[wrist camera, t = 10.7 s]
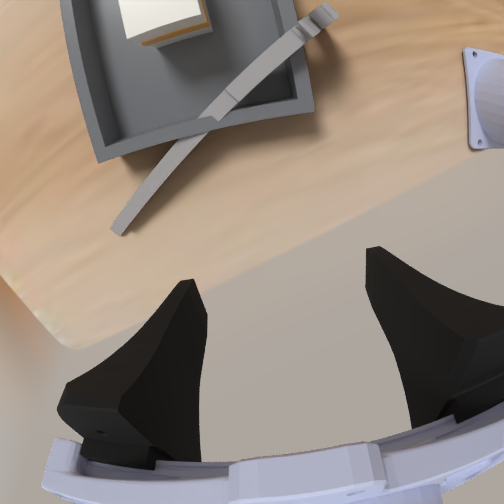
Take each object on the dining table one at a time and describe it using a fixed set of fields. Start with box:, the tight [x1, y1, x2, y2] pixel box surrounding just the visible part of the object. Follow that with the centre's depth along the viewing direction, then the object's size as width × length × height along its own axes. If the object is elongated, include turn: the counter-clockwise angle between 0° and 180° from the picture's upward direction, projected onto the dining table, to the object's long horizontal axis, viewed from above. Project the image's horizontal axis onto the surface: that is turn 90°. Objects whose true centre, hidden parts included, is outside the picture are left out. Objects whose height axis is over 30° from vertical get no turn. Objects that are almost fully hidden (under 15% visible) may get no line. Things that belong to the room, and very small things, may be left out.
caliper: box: [110, 2, 340, 236], centre depth 15 cm, size 20×1×6 cm, turn 136°
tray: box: [60, 0, 315, 164], centre depth 12 cm, size 13×17×3 cm
